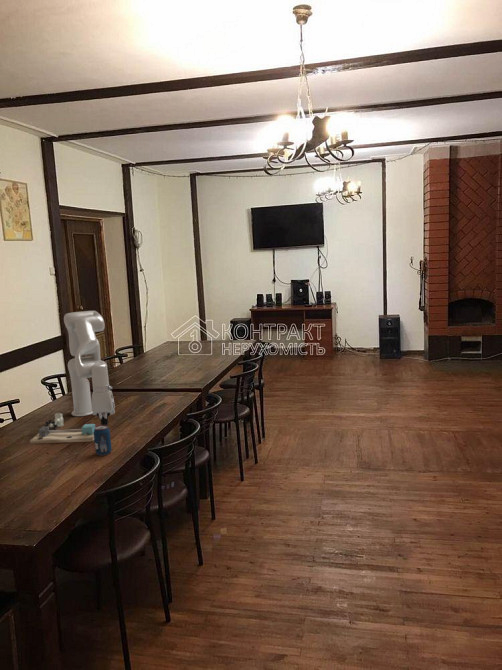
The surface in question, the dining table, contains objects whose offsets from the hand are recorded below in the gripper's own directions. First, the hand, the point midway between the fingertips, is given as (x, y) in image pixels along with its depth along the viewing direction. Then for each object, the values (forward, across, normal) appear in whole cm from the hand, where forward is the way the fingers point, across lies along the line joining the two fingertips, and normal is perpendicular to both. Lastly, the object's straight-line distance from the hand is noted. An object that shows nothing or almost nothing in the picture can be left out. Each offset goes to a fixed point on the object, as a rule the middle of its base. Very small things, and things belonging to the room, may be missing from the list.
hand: (104, 426), depth 260 cm
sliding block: (+3, +8, +1) cm, 9 cm away
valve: (+5, +30, -15) cm, 34 cm away
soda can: (+6, -6, +23) cm, 24 cm away
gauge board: (+5, +19, +1) cm, 20 cm away
